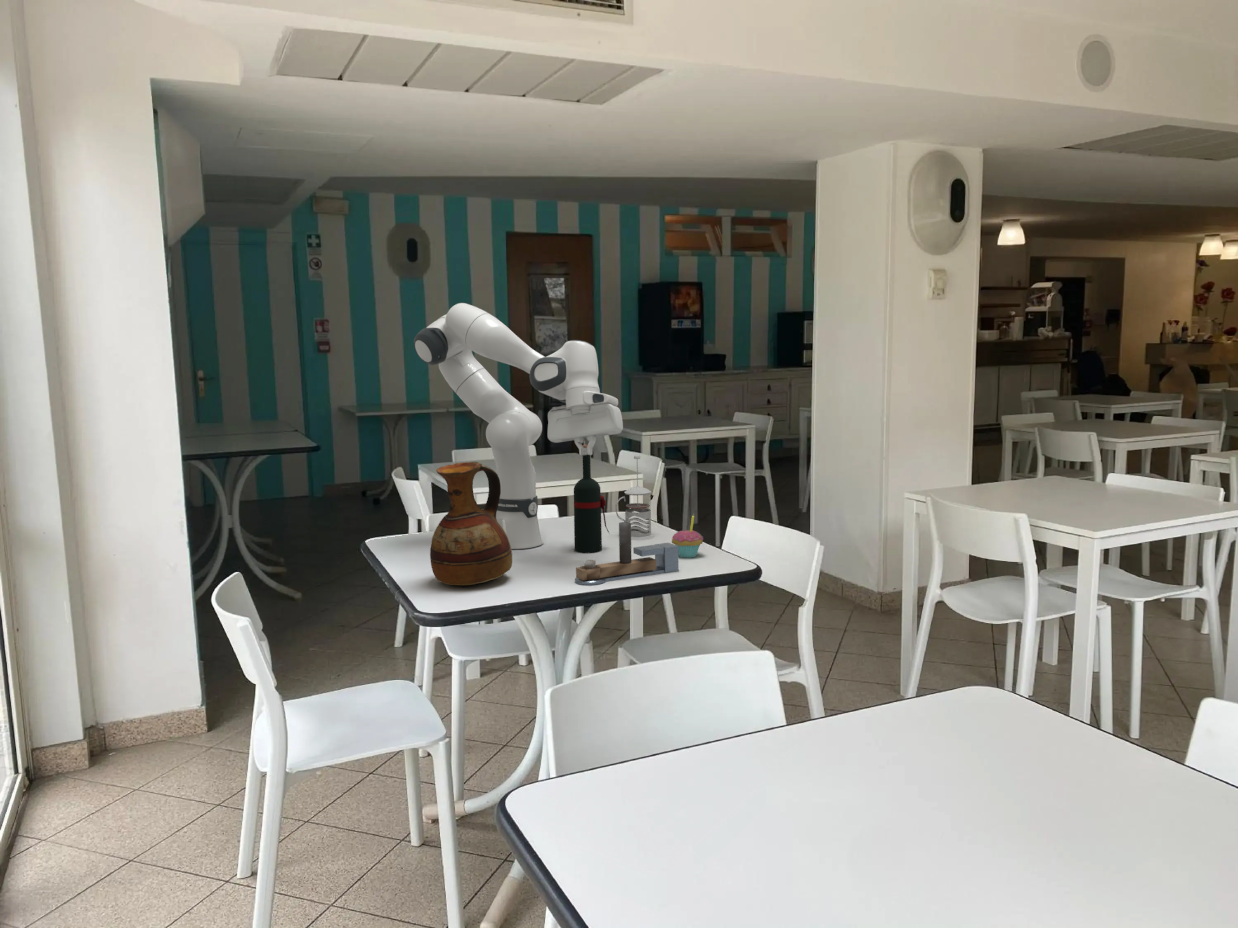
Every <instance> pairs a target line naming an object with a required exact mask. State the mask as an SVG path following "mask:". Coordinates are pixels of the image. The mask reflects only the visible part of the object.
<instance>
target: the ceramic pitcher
mask: <svg viewBox="0 0 1238 928" xmlns="http://www.w3.org/2000/svg"><path fill="white" fill-rule="evenodd" d="M435 472H436V473H437V474H438V475H439V476H440V477H442V478H443V480H444V481H445V483H446V484H447V488H446V489H447V496H448V498H449V501H450V502H449V509H448V512H447V513H446V514H445V515H444V516H443V517H442V518H441V520H440V521H439V523H438V524H437V526H436V528H435V530H434V532H433V535H432V538H431V542H430V543H431V544H430V549H429V550H430V551H429V557H430V558H429V559H430V566H431V570H432V573H433V575H434V577H435V579H436V580H437V581H438V582H440V583H443V584H445V585H451V586H472V585H476V584H477V585H478V584H482V583H486V582H489V581H491V580H496V579H499V578H500V577H502V576H503V575H505V574H506V573H507V572H509V571H510V570H511V568H512V566H513V552H512V550H513V549H511V546H510V543H509V540H508V537H507V535H506V533H505V531H504V530H503V528H502V527H501V526H500V524H499V523H498V522H497V519H496V513H497V509H498V504H499V498H500V494H501V486H500V480H499V477H498V475H497V471H495V470H494V469H492V468H491V467H489V466H487V465H484V464H482V463H480V462H478V461H469V462H468V461H467V462H456V463H453V464H446V465H444V466H443V465H442V466H440V467H439V468H436V471H435ZM479 472H484V474H485V475H486V478H487V482H488V494H487V499H486V502H485V505H484V507H483V508H481V507H480V506H479V505H478V503H477V501H476V499H475V495H474V488H473V487H474V486H473V485H474V479H475V476H476V474H477V473H479Z"/></svg>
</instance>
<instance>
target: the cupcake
mask: <svg viewBox="0 0 1238 928" xmlns="http://www.w3.org/2000/svg"><path fill="white" fill-rule="evenodd" d="M694 522H695V513H693V514H692V515H691V520H690V526H689V527H690V528H689V529H686V530H685V529H684V530H679V531H677V532H675V533H674V534H673V535H672V538H671V544H674V545H677V546H678V557H681V558H685V559H686V558H688V559H689V558H694V557H697V555H698V552H699V550H700V549H699V548H700V546H701V544H703V543H704V542H703V540H704V537H703V536H702V534H701V533H699V532H698V531H695V530H693V528H694Z"/></svg>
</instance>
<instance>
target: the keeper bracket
mask: <svg viewBox="0 0 1238 928" xmlns="http://www.w3.org/2000/svg"><path fill="white" fill-rule="evenodd" d="M633 554H634V555H636V556H639V557H641V558H644V557H650V556H654V559H656V566H657V569H656V570H649V571H643V572H636V573H629V574H623V575H616V576H610V577H603V578H599V579H595V580H583V581H582V580H580V579H578V578H576V577H575V578H574V583H575V584H576V585H580V586H597V585H602V584H605V583H606V582H612V581H619V580H624V579H631V578H633V579H634V578H639V577H645V576H652V575H659V574H664V573H665V574H667V572H668V573H674V572H675V573H676V572H679V553H678V546H677V545H675V544H673V543H672V542H662V543H655V544H649V545H641V546H634V547H633Z"/></svg>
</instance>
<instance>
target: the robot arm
mask: <svg viewBox="0 0 1238 928" xmlns="http://www.w3.org/2000/svg"><path fill="white" fill-rule="evenodd" d="M413 338H414V339H413V346H414V350H415V353H416V355H417V356H418V358H419V359H420V360H421V361H423V362H424V363H425V364H428V365H429V366H434V365H438V369H439V371H440V373H441V375H442V376H443V378H444V380H445V381H446V383H447V384H448V386H449V387H450V388H451V389H452V391H454V393H455V394H456V395H457V396H458V397H459V399H460V400H461V401H462V402H463V403H464V404H465V405H466V406H467V407H468V408H469V409H470V411H471V412H472V413H473V414H474V415H476V416H477V417H479V418H481V419H482V420H484V421H486V422H487V423H488V425H487V426H486V429H485V437H486V441H487V443H488V445H489V446H490V447H491V452H492V455H493V459H494V464H495V469H496V473H497V475H498V477H499V480H500V486H501V494H500V498H499V504H498V509H497V513H496V519H497V522H498V523H499V524H500V526H501V527H502V528H503V530H504V531H505V533H506V535H507V537H508V540H509V543H510V546H511V550H520V549H531V548H535V547H538V546H541V545H543V544H544V542H543V538H542V535H541V531H540V526H539V519H538V510H539V509H538V508H539V502H538V501H539V500H538V496H537V487H536V485H537V484H536V480H537V479H536V469H535V466H534V465H533V461H532V459H531V453H530V449H529V447H530V446H532V445H533V444H535V443H536V442H537V440H538V439H539V438H540V436H541V435H542V432H543V423H542V421H541V419H540V418H539V416H538V415H537V414H536V413H534V412H532V411H530V410H529V409H528V408H527V407H526V406H525V405H524V404H522V403H521V401H519V400H518V399H516V398H515V397H514V396H512V395H511V394H510V393H509V392H507V390H505V389H504V388H503V387H502V386H501V385H500V383H499V382H498V381H497V380H496V379H495V377H493V376H492V375H491V374H490V373H489V371H488V370H487V369H486V368H485V367H484V366H483V365H482V364H481V363H480V362H479V361H478V360H477V359H476V357H475V356H474V354H473V352H474V353H475V354H478V355H479V356H482V357H484V358H487V359H490V360H493V361H496V362H500V363H502V364H507V365H509V366H512V367H515V368H517V369H520V370H522V371H524V372H525V373H527V374H529V381H530V385H531V387H533V389H534V390H536V391H538V392H539V393H541V394H543V395H546V396H549V397H550V398H553V399H555V400H557V401H559V402H561V403H564V405H560V406H553V407H551V409H550V410H549V411H548V412H547V421H548V424H547V439H548V440H549V441H550V442H552V443H556V444H557V443H563V442H564V443H565V442H569V441H570V442H572V441H574V444H575V445H576V447H577V448H578V452H579V456H580V457H583V456H587V455H590V456H592V455H593V454H594V453H593V449H594V446H595V444H596V442H597V437H604V436H612V435H618V434H621V433H622V431H623V430H624V421H623V416H622V412H621V410H620V408H619V407H618V406H619V399H618V398H616V397H615V396H612V395H610V394H607V393H601V391H600V390H601V389H600V387H599V382H598V381H599V380H598V379H599V373H600V372H599V364H598V363H599V362H598V355H597V351H596V348H595V346H594V345H593V344H591V343H589V342H588V341H585V340H580V339H571V340H567V341H566V342H565V343H564V344H563V345H562V346H561V347H560V348H559V349H558V350H556V351H555V352H553V353H551V354H549V355H547V356H544V355H543V354H541V353H539V352H538V351H536V350H534V349H533V348H532V347H530V346H529V345H528V344H527V343H526V342H525V341H523V340H522V339H521V338H520V337H519V336H518V335H516V334H515V333H514V331H512V330H511V329H510V328H509V327H508V326H507V325H505V324H504V323H503V322H502V321H500V320H499V318H497V317H496V316H494V315H492V314H491V313H489V312H488V311H486V310H483V309H481V308H479V307H477V306H475V305H471V304H469V303H465V302H459V303H456V304H455V305H453V306H451V307H450V309H448V311H447V313H446V314H444V315H442V316H440V317H439V318H438V319H436V320H435V321H433V322H432V323H430V324H429V325H428V326H426V327H424V328H422V329H421V330H420V331H419V332H417V334H416V335H415V336H414V337H413ZM585 439H587V441H588V444H587V445H588V446H587V448H584V447H583V443H584V440H585Z"/></svg>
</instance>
